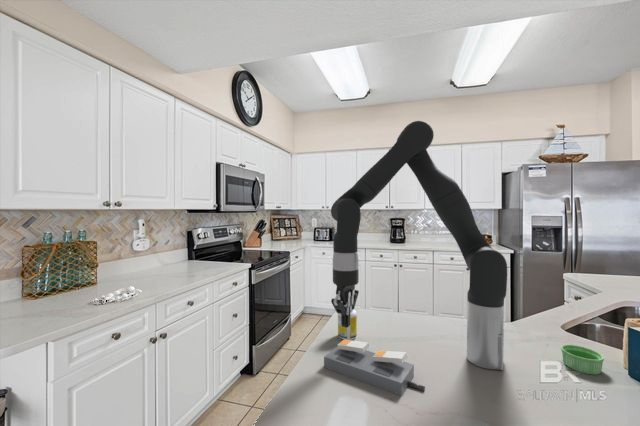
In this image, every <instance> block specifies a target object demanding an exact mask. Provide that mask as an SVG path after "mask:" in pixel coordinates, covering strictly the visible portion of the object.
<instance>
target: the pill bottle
mask: <svg viewBox="0 0 640 426" xmlns="http://www.w3.org/2000/svg"><path fill="white" fill-rule="evenodd" d="M357 315H358V314H357V311H356V310H355V308H354V309H352V312H351V313H350V326H349V327H347V328H346V327H342V325H341V314H339V313H337V335H338V337H339V338H340V339H342V340H344V339H345V340H352V341H353V340H354V339H356V338H357V336H358V335H357V333H358V332H357V330H358V328H357V326H358V325H357V323H358V320H357V319H358V316H357Z"/></svg>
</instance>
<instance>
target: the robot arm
mask: <svg viewBox="0 0 640 426" xmlns="http://www.w3.org/2000/svg"><path fill="white" fill-rule="evenodd" d="M434 136H435V135H434V130H433V127H432V126H431V125H430V124H429V123H428V122H427V121H423V120H414V121H412V122H410V123H409V124H407V125H406V126H405V127H404V128H403V130H402V131H401V132H400V134H399V135H398V136H397V140H396V142H395V143H394V144H393V145H392V147H391V148H389V149H388V151H387V152H386V153H385V154H384V155H383V156H382V157H381V158H379V160H378V161H377V162H376V163H375V164H373V165H372V167H370V168H369V169H368V170H367V171H366V172H365V173H364V174H363V175H362V176H361V177H359V180H357V181H356V183H355V184H354V185H353V186H352V187H350V188H349V189H348V190H347V191H345V192H344V193H343V194H342V195H341V196H340V197H338V198H337V199H336V200H335V201H334V202H333V204H332V205H331V207H330V214H331V218H333V219H334V221H336V232H334V234H333V240H332V241H333V244H332V245H333V255H332V282H333V284H334V285H335V286H336V290H335V295H336V296H335V297H334V298H331V301H330V302H331V304H332V306H333V308H334V310H335V311H336V314H338V313H339V314H341V325H342V327H346V328H347V327H349V326H350V313H351V312H352V309H354V310H355V306H356V303H357V300H358V296H359V292H360V291H359V289H358V290H357V289H356V285H358V284H359V255H358V252H359V251H358V236H359V235H358V234H359V230H360V225H361V218H362V217H361V215H362V212H361V208H362V207H363V206H364V205H366V204H368V203H370V202H372V201H373V200H374V199H375V198H376V197H377V196H378V195H379V194H380V193H381V191H382V190H384V189H385V187H386V186H387V185H388V184H389V183H390V182H391V180H392V179H393V178H394V177H395V176H396V175H397V174H398V172H400V170H401V169H402V168H403V167H404V166H405V165H407V166H408V167H409V168H410V170H411V171H412V173H413V174H414V175H415V176H414V177H416V178H417V179H416V180H417V181H418V183H419V185H420V186H421V188H422V190H423V191H424V193H425V194H426V196H427V198H428V200H429V203H430V204H431V206H432V207H433V209H434V211H435V212H436V214H437V215H438V217H439V219H440V220H441V222H442V223H443V224H444V226H445V227H446V229H447V230H448V231H449V233H450V234H451V236H452V237H453V238H454V240H455V242H456V244H457V245H458V248H459V250H460V253H461V254H462V257H463V259H464V260H463V261H464V262H465V265H466V266H467V268H468V270H469V289H468V290H467V297H466V298H467V299H466V301H467V303H466V304H467V305H466V307H467V308H466V320H467V321H466V359H467V361H469V362H470V363H471V364H473V365H475V366H477V367H480V368H481V369H487V370H501V371H503V370H504V359H505V358H504V352H505V350H504V345H505V343H504V341H505V339H504V338H505V337H504V334H505V330H504V321H505V320H504V318H505V317H504V316H505V315H504V314H505V313H504V312H505V311H504V308H505V307H504V305H505V298H506V296H507V284H508V263H507V260H506V258H505V256H504V254H502V253H501V252H499V251H498V250H495V249H494V248H492V246H491V245H490V244H489V242H488V241H487V239H486V238H485V237H484V236H483V234H482V233H481V231H480V229H479V227H478V225H477V223H476V220H475V216H474V213H473V211H472V208H471V206H470V204H469V201H468V200H467V197H466V196H465V194H464V192H463V190H462V189H461V187H460V186H459V184H458V183H457V182H456V180H454V179H453V178H452V177H450V176H449V175H448V174H447V173H445V172H444V171H442V169H440V168H439V167H438V166H437V165H436V164H435V162H434V161H433V159H432V158H431V156H430V153H429V152H428V150H427V149H428V148H430V146H431V145H432V142H433V140H434Z"/></svg>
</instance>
